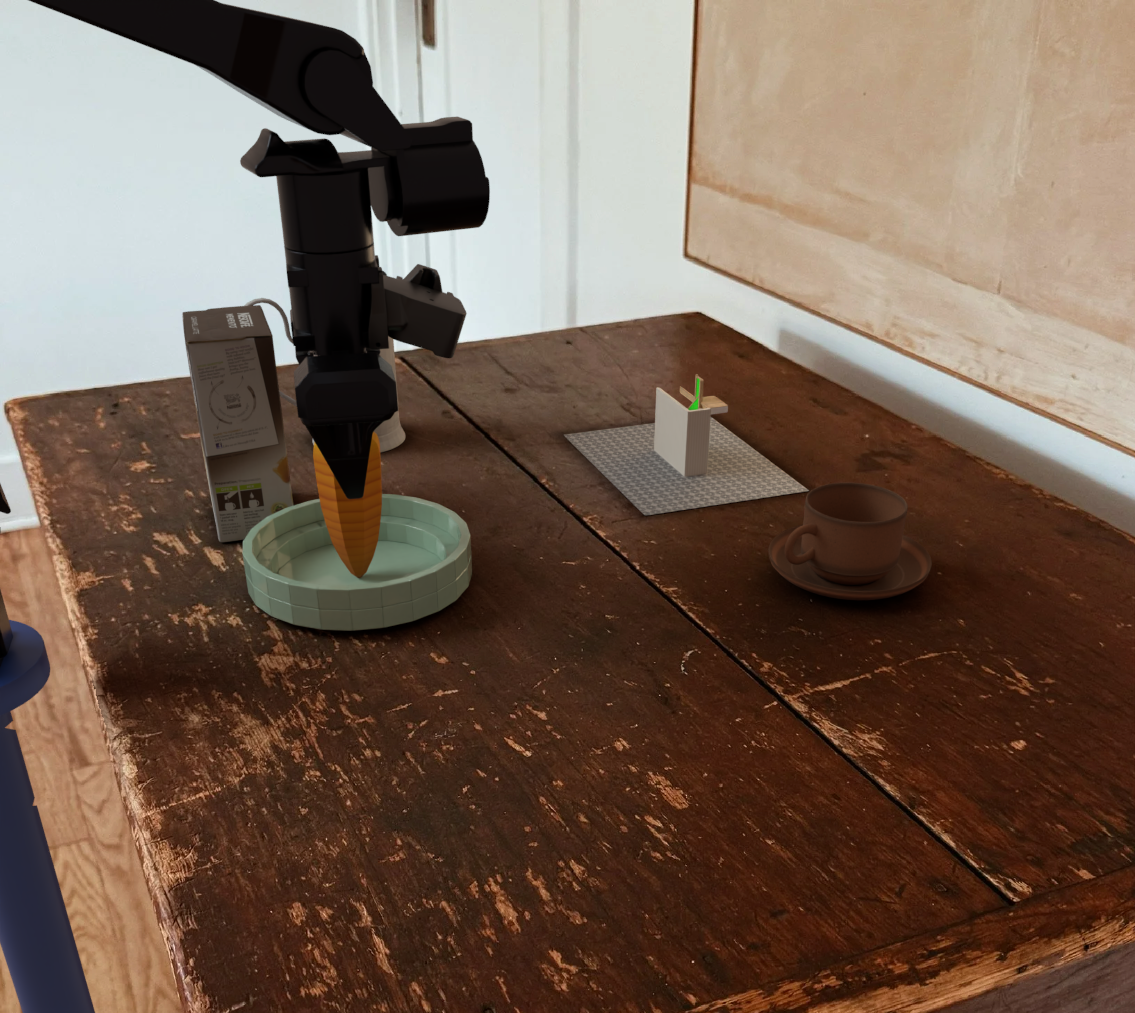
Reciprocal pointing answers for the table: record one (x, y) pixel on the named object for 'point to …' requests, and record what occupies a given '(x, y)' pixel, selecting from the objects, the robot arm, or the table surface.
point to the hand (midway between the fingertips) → (351, 472)
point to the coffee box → (238, 416)
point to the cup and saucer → (851, 545)
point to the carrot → (352, 511)
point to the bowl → (385, 592)
